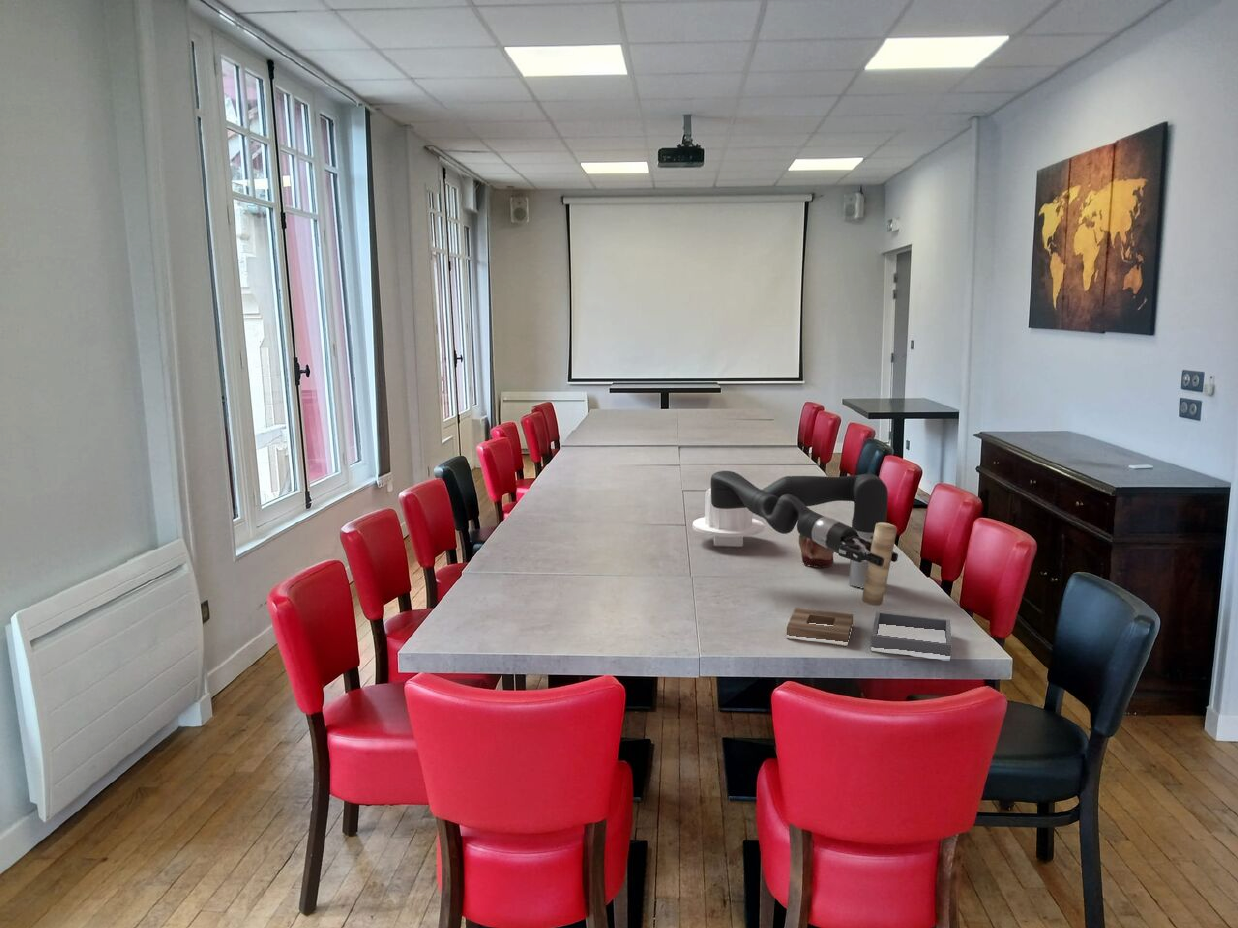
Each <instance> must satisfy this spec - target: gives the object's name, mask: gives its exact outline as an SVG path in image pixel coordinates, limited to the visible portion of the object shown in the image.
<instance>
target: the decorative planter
mask: <svg viewBox="0 0 1238 928" xmlns="http://www.w3.org/2000/svg"><path fill="white" fill-rule="evenodd" d="M798 545H799V549H800V553H801V560H802V563H804V564H806V565H810V566H817V567H816V568H820V567H823V568H827V566H828V567H831V566H832V565H833V564H834V553H835V552H834V551H832V550H829V549H827V548H825V547H823V546H821V545H819V544H818V543H816V542H815V541H812V540H810V539H808V538H806V537H804V536H802V535H800V534H799V535H798ZM804 564H803V565H804ZM806 565H805V566H806ZM830 565H831V566H830ZM810 566H809V567H810Z"/></svg>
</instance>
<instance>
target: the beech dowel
mask: <svg viewBox="0 0 1238 928" xmlns="http://www.w3.org/2000/svg"><path fill="white" fill-rule="evenodd" d="M897 530H898V527H897V526H896V525H894V524H891V523H889V522H885V523H882V522H881V523H876V526H875V531H874V536H873V542H872V547H871V552H870V553H874V554H876V555H878V556H881V557H883V558H884V564H883V566H881V567H880V566H877V565H875V564H873V563H871V562H869V563H868V568H867V574H866V579H865V584H864V589H863V590H862V595H861V596H862V597H861V601H862V602H863V603H865V604H866V605H870V606H874V607H878V606H882V605H883V603H884V597H885V593H886V587H887V582H888V578H889V577H888V576H889V571H890V568H891V567H890V566H891V562H892V561H891V557H892V552H894V546H895V542H896V541H895V540H896V538H897V532H898V531H897Z"/></svg>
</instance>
